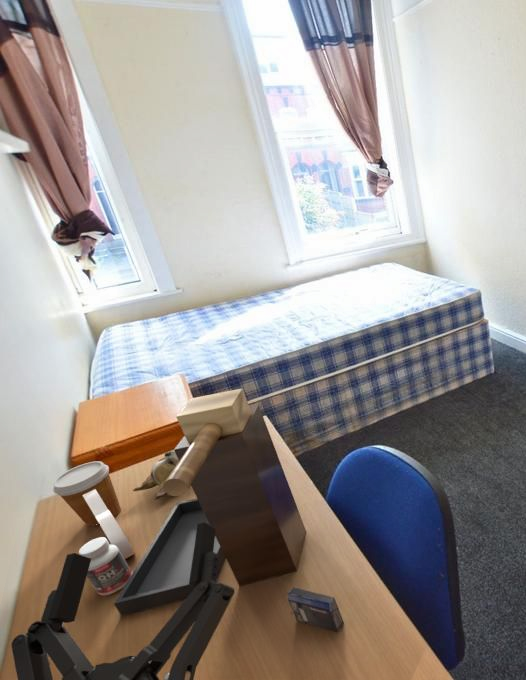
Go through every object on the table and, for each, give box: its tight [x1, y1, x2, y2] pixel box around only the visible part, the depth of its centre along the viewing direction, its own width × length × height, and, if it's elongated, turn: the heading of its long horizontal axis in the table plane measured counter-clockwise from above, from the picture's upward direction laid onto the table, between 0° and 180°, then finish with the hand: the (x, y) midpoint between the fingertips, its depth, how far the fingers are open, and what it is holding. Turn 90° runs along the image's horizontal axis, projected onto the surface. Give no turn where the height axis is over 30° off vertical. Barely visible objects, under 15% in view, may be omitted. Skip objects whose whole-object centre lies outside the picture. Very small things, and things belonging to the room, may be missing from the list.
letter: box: [82, 489, 136, 560], centre depth 96 cm, size 22×2×10 cm, turn 51°
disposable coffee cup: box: [52, 460, 122, 526], centre depth 104 cm, size 10×10×12 cm
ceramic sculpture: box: [132, 450, 179, 500], centre depth 114 cm, size 11×9×15 cm
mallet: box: [163, 388, 252, 497], centre depth 70 cm, size 20×8×5 cm, turn 13°
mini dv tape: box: [286, 587, 345, 633], centre depth 75 cm, size 8×2×6 cm, turn 72°
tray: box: [113, 497, 227, 617], centre depth 93 cm, size 26×15×3 cm, turn 13°
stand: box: [173, 404, 307, 587], centre depth 84 cm, size 10×10×30 cm
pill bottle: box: [78, 536, 133, 596], centre depth 86 cm, size 5×5×10 cm
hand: (144, 540), depth 55 cm, fingers open, 13 cm apart
